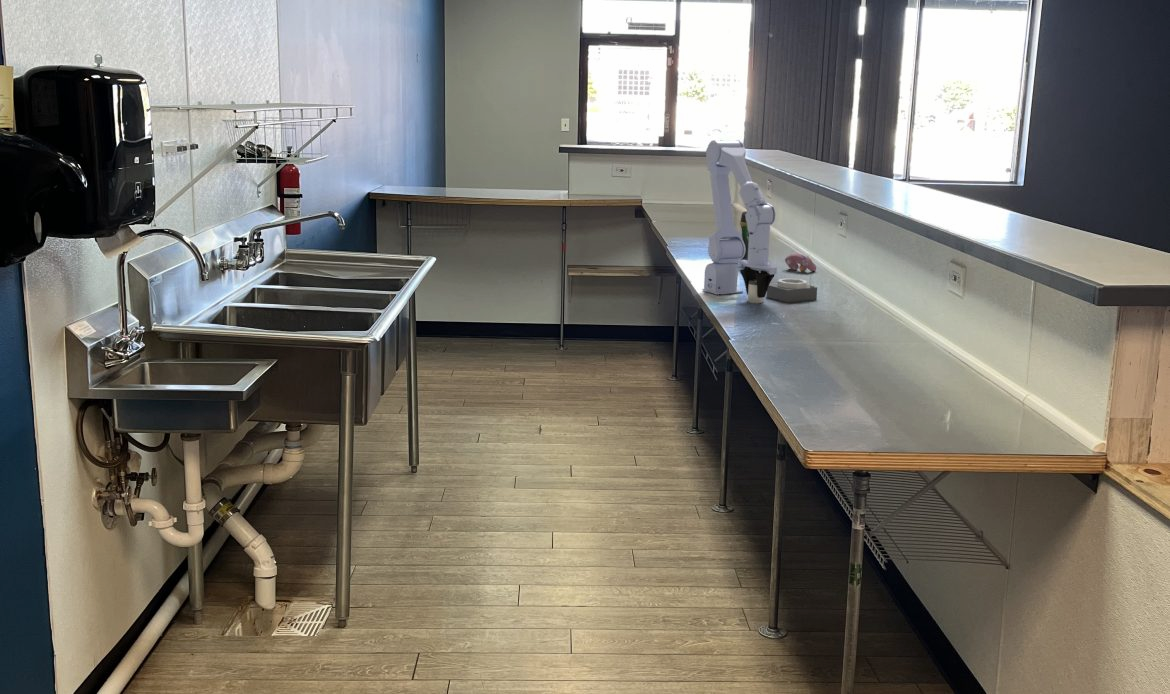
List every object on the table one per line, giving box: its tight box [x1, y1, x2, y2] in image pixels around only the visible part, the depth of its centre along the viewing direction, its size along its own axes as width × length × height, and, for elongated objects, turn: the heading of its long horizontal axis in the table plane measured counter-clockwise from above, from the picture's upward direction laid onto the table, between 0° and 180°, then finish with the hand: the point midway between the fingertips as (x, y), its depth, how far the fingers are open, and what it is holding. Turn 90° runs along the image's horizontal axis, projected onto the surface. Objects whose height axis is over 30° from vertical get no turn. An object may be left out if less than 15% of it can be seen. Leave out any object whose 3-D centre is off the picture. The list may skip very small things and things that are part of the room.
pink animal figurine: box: [784, 253, 817, 272], centre depth 344 cm, size 10×5×7 cm, turn 45°
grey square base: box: [766, 278, 818, 303], centre depth 298 cm, size 11×9×5 cm
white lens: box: [747, 280, 765, 304], centre depth 292 cm, size 4×4×6 cm
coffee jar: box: [739, 210, 749, 260], centre depth 353 cm, size 10×8×19 cm
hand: (755, 295), depth 292 cm, fingers closed on white lens, 4 cm apart
